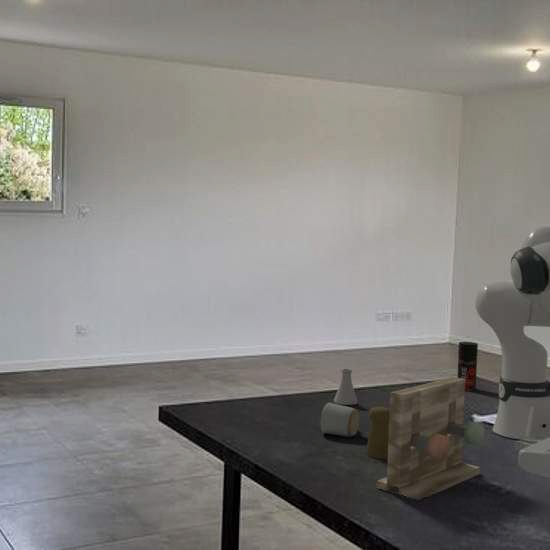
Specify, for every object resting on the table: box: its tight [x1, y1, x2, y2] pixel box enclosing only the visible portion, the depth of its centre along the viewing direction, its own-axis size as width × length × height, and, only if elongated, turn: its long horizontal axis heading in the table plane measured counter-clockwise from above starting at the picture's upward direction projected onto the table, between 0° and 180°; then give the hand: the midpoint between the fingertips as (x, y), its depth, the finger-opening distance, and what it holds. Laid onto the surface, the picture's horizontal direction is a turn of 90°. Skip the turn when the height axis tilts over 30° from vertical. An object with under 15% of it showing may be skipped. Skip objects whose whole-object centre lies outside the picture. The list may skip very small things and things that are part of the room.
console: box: [376, 376, 481, 501], centre depth 166 cm, size 10×24×20 cm, turn 137°
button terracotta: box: [411, 433, 450, 459], centre depth 159 cm, size 7×5×5 cm, turn 47°
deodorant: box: [456, 341, 479, 392], centre depth 259 cm, size 6×6×15 cm
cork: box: [365, 406, 390, 459], centre depth 184 cm, size 6×6×11 cm
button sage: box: [448, 421, 486, 447], centre depth 169 cm, size 7×5×5 cm, turn 47°
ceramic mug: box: [320, 402, 360, 438], centre depth 202 cm, size 11×8×8 cm
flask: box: [332, 368, 359, 406], centre depth 235 cm, size 7×7×10 cm
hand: (517, 443), depth 161 cm, fingers closed
